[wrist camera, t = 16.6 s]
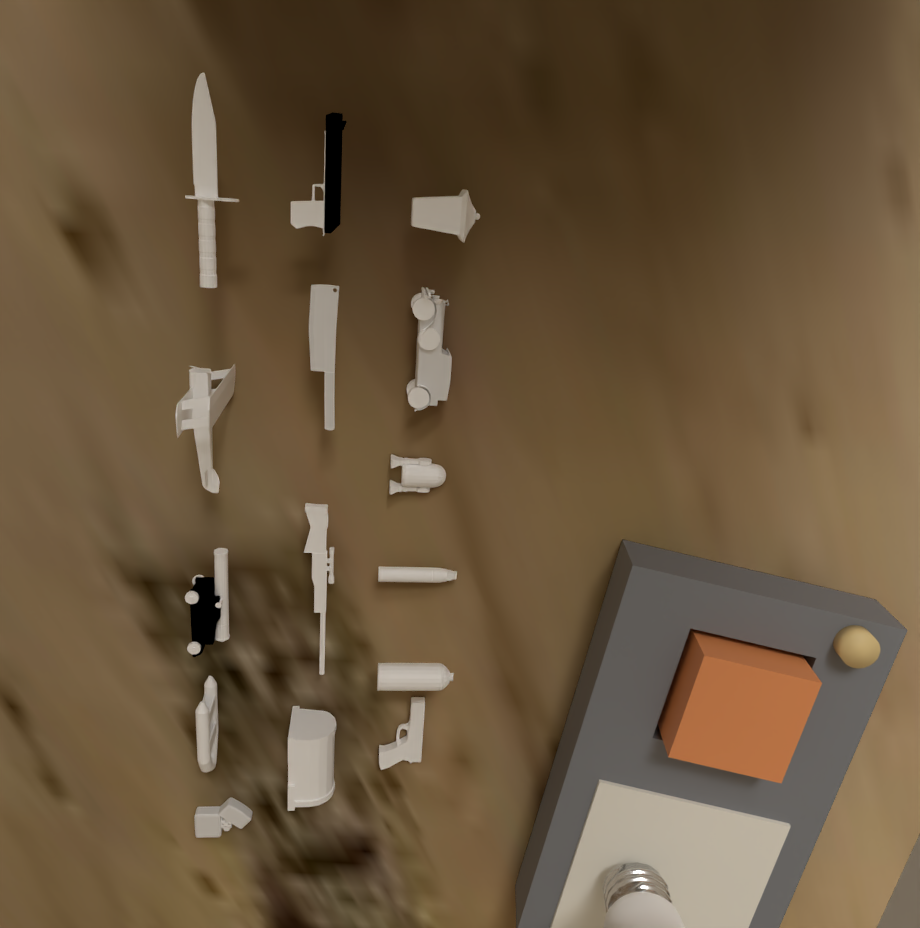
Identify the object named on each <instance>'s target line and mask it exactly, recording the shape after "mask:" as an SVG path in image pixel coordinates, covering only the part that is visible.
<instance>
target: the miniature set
mask: <svg viewBox="0 0 920 928" xmlns="http://www.w3.org/2000/svg"><path fill="white" fill-rule="evenodd" d="M342 117H343V114H341V113H330V114H328V115H326V131H325V148H324V184H313V186H312V201H291V224H292V225H293V226H294V227H295V228H296V229H298V228H302V227H306V226H316V227H320V228H323V236H324V235H325V233H331V232H333V231H334V230H335V229H336V228H337V227H338V226H339V225H340V207H341V162H342V130H343V129H344V127H345V125H346V121H342ZM192 155H193V183H194V185H195V196H190V195H187V196H185V198H188V199H198V221H199V223H198V235H199V252H200V257H199V264H200V287H203V288H217V274H216V269H217V265H216V240H215V236H216V229H215V207H214V201H228V202H239V199H233V198H220V197H218V174H217V137H216V120H215V116H214V111H213V107H212V103H211V98H210V94H209V89H208V85H207V81H206V76H205V73H201V74H200V75H199V77H198V79H197V82H196V85H195V90H194V96H193V106H192ZM315 186H317V187H321V188H322V190H323V192H324V201H315ZM479 219H480V214H479V213H476V210H475V209H474V207H473V205H472V203H471V200H470V197H469V193H468V190H465V189H462V191H461V192H460V194H459V195H458V196H438V197H414V198H412V209H411V225H412V226H413V227H418V228H423V229H428V230H434V231H439V232H444V233H450V234H455V235H457V236H458V238H459V239H460V240H461V241H462V242H463V243H464V242H465V239H466V236H467V234H468V232H469V230H470V229H471V227H472V226H473V224H474V223H475V220H479ZM334 288H336V289H337V292H334V291H333V289H334ZM421 290H422V293H417V294H416V295H414V296H413V298H412V300H411V307H412V310H413V314H414V315H415V317H416V318H418V335H417V351H416V371H415V379H413V380H411V381H410V382H409V383H408V384H407V388H406V390H407V394H408V402H409V404H410V405H411V406H412V407H414V408H416V409H414V411H417V410H423V409H425V408H426V407H427V406H437V403H438V400H443V401H447V397H448V392H449V386H450V379H451V365H452V356H451V354H450V352H449V350H448V348H447V349H446V350H444V349H443V348H442V343H443V329H444V315H445V305H446V304H445V303H446V302H448V300H447V301H445V300H443V299H439V298H440V296H438V295H432V297H433V298H431V294H434V293H435V291H434V290H429V289H428V287H426V288H424V287H422V288H421ZM426 291H427V294H428V295H427V294H426ZM338 297H339V286H335V285H326V284H315V285H311V297H310V315H309V344H310V365H311V371H322V372H325V373H324V410H325V429H327V430H330V431H331V430H334V429H335V406H334V394H335V349H336V325H337V311H338ZM447 306H449V303H448V305H447ZM190 367H193V368H192V369H190V370H189V384H190V390H189V391H188V392H187V393H186V394H185V395H184V397H183V398H182V399H181V400H180V401H179V402H178V404H177V407H176V415H175V418H176V430H177V438H178V437H179V436H180V434H181V433H182V432H183V430H185V429H192V428H193V429H194V435H195V442H196V448H197V454H198V460H199V467H200V473H201V479H202V486H203V487H204V488H205V489H206V490H208V491H210V492H212V493H218V492H219V484H220V481H219V477H218V475H217V473H216V472H215V470H214V469H213V447H212V427H213V426H214V424H215V422H216V421H217V419H218V418H219V416H220V415H221V413H222V411H223V410H224V408H225V407H226V405H227V403H228V402H229V400H230V399H231V397H232V396H233V394H234V387H235V374H236V371H235V364H234V365H233V366H232V368H231V369H226V370H220V371H213V372H211V369H208V368H198V367H195V366H190ZM222 378H224V379H223V380H222V381H221V383H220V384H219V385H218V387H217V388H216V389H211V380H215V379H222ZM431 462H432V460H431V459H430V458H418V459H413V458H406V457H405V458H403V457H397V456H395V455H393V454H391V461H390V463H391V468H395V467H397V466H402V473H401V483H396V482H394V481H392V480H390V482H389V493H390V495H391V494H394V493H396V492H402V491H403V492H407V491H416V492H422V493H427V492H429V491H430V488H434V487H439V486H441V485H442V484H443V483H444V481H445V479H446V472H445V470H444V468H443V467H442V466H440V465H438V464H431ZM305 512H306V514H307V517H308V520H309V524H310V531H309V535H308V538H307V542H306V546H305V549H304V553H312V580H313V584H314V613H320V672H319V674H320V675H323V674H324V668H325V617H326V597H327V571H329V577H328V583H330V584H333V583H334V575H333V571H334V547H330V549H329V554H330V558H327V550H326V539H327V528H328V504H312V503H306V504H305ZM214 555H215V559H214V562H215V579H214V578H213V577H204V576H202V575H196V576H194V578H193V580H192V583H193V585H194V587H193V589H191V590H190V591H189V592H187V594H186V595H185V601H186V602H187V603H189V604H190V608H191V631H192V642H191V643H189V645H188V647H187V650H188V652H189V653H191V654H193V657H196V656H198V655H200V654H201V653H202V652H203V649H204V646H205V644H206V645H213V643H214V640H217V641H220V642H224V641H226V640H228V639H229V638H230V634H229V592H228V550H227V549H226V548H217V549H215V550H214ZM327 563H330V566H327ZM452 579H453V580H455V579H457V571H452V570H447V569H442V568H435V567H384V566H379V568H378V582H426V583H441V582H446V581H452ZM453 675H454V673H450V671H449V670H448V668H447V667H446V666H444V665H443V664H441V663H378V674H377V691H379V690H381V691H440V690H443V689H444V688H445V687H446V686H447V685H448V684H449V683H450V681H453ZM195 712H196V736H197V759H198V763H199V766H200V769H201V771H202V772H205V773H206V772H209V771H212V770H214V768H215V766H216V762H217V746H218V701H217V682H216V681H215V680H214V678H213V677H212V676H209V677H208V678H207V680H206V682H205V684H204V697H203V700H202V701H201V702H200V703H199V705H198V707H197V709H196V711H195ZM424 712H425V697H411V707H410V720H409V722H408V723H406V724H401V725H399V726H398V728H397V733H396V741H395V742H393V743H390V744H387V745H379V766H380V769H381V770H383V769H386V768H389V767H391V766H392V765H394V764H396V763H398V762H400V761H402V760H405V761H409V762H410V764H411V763H412V762H421V755H422V741H423V726H424ZM401 729H405V730H407V735H406V736H404V737H403V738H401V739H399V735H400V730H401ZM335 731H336V720H335V717H334V716H333V715H332V714H331V713H329V712H327V711H320V710H309V709H300V706H293V708H292V714H291V721H290V728H289V734H288V811H295V807H312V806H318V805H320V804H323V803H325V802H327V801H328V800H329V799H330V798H331V797H332V796H333V793H334V790H335V782H334V744H335ZM252 813H253V812H252V810H251V809H249V808H248V807H247V806H246V805H244V804H243V803H241V802H239V801H238V800H236V799H234V798H232V797H231V798H229V799H228V800H227V801H225V802H224V803H223V804H222V805H221V806H209V807H197V809H196V813H195V816H194V820H195V836H196V837H197V838H205V837H219V836H221V834H222V830H224V831H229V830H230V828H232V824H233V825H235V826H236V827H238V828H240V829H242V828H243V827H244V826H245V825H246V824H248V823H249V822H250V821H251V818H252ZM223 818H224V819H223Z"/></svg>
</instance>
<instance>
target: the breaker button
mask: <svg viewBox="0 0 920 928" xmlns="http://www.w3.org/2000/svg"><path fill="white" fill-rule="evenodd" d="M821 685H822V682H821V681H820V679H819V678H818V677H817V675H816V674H815V673H814V671H813V670H812V668H811V667H810V666H809V664H808V663H807V661H806V660H805V659H804V657H803V656H802V655H801V654H797V653H793V652H789V651H784V650H780V649H776V648H772V647H767V646H763V645H759V644H755V643H750V642H746V641H742V640H738V639H733V638H729V637H725V636H721V635H717V634H712V633H708V632H704V631H700V630H695V629H691V628H690V631H689V634H688V637H687V640H686V642H685V645H684V648H683V651H682V654H681V657H680V660H679V663H678V666H677V668H676V671H675V674H674V677H673V680H672V683H671V686H670V689H669V691H668V694H667V697H666V700H665V703H664V706H663V709H662V712H661V715H660V717H659V720H658V723H657V724H658V727H659V730H660V733H661V736H662V739H663V742H664V745H665V749H666V752H667V755H668V757H670V758H674V759H678V760H683V761H687V762H691V763H695V764H700V765H704V766H708V767H713V768H717V769H721V770H725V771H730V772H734V773H738V774H743V775H747V776H751V777H755V778H760V779H764V780H768V781H773V782H777V783H782V781H783V778H784V776H785V773H786V771H787V768H788V766H789V764H790V761H791V759H792V756H793V754H794V751H795V749H796V746H797V744H798V741H799V739H800V736H801V734H802V732H803V729H804V727H805V724H806V722H807V719H808V717H809V714H810V712H811V709H812V707H813V705H814V702H815V700H816V697H817V695H818V692H819V690H820V687H821Z"/></svg>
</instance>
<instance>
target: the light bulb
mask: <svg viewBox="0 0 920 928" xmlns="http://www.w3.org/2000/svg"><path fill="white" fill-rule="evenodd" d="M602 888H603V894H604V901H605V908H606V915H605V920H604V928H685V927H684V925H683V922H682V919H681V917H680V915H679V913H678V912H677V910H676V908H675V907H674V906H673V905H672V900H671V899H670V892H669V891H668V885H667V883H666V882H665V880H664V879H663V878H662V876H661V875H660V874H659V872H658V871H657V870H656V869H654V868H652V867H651V866H649V865H647V864H642V863H638V862H635V863H626V864H623V865H620V866H617V867H615V868H613V869H612V870H611V871H610V873H609V874H608V875H607V876H606V878H605V881H604V884H603V887H602Z"/></svg>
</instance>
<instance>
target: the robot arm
mask: <svg viewBox="0 0 920 928" xmlns="http://www.w3.org/2000/svg"><path fill="white" fill-rule="evenodd" d="M877 928H920V835H919V837H918V839H917V841H916V843H915V845H914V848H913V850H912V852H911V854H910V856H909V859H908V861H907V863H906V865H905V867H904V869H903V872H902V874H901V876H900V878H899V880H898V882H897V885H896V887H895V889H894V891H893V893H892V896H891V898H890V900H889V902H888V904H887V906H886V909H885V911H884V913H883V915H882V917H881V919H880V922H879V924H878V926H877Z"/></svg>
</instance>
